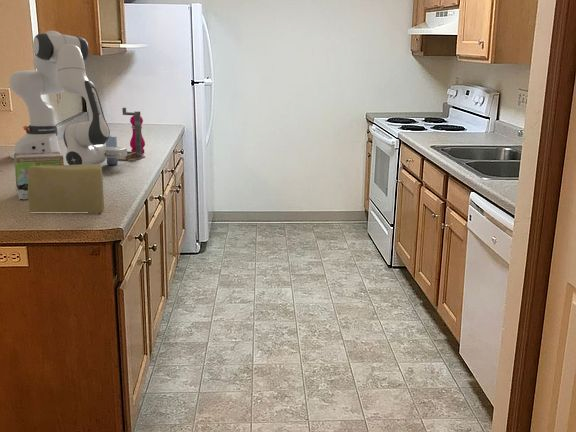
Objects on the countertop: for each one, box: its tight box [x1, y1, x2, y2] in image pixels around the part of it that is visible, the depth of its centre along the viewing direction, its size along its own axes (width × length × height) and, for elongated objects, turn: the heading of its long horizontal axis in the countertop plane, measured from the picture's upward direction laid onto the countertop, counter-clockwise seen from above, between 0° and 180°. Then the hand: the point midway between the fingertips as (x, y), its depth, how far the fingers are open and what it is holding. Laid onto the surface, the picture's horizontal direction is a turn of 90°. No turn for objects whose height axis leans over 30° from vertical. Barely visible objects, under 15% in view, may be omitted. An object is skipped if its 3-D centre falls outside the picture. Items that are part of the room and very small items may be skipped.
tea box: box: [13, 152, 65, 200], centre depth 212 cm, size 15×10×15 cm
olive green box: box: [28, 163, 105, 214], centre depth 192 cm, size 22×10×15 cm, turn 103°
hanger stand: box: [118, 107, 146, 162], centre depth 282 cm, size 12×13×23 cm
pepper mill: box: [129, 115, 146, 155], centre depth 297 cm, size 7×7×20 cm
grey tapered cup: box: [105, 135, 119, 166], centre depth 269 cm, size 5×5×12 cm
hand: (112, 148), depth 269 cm, fingers closed on grey tapered cup, 5 cm apart
